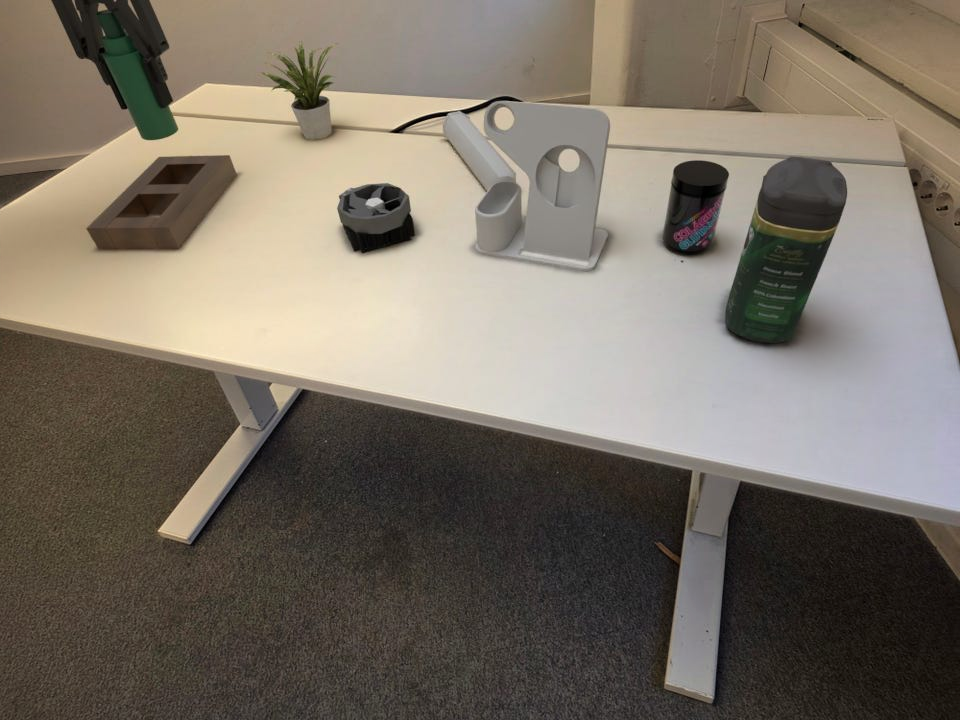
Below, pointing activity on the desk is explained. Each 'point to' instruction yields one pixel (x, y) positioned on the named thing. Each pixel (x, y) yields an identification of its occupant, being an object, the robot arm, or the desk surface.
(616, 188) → the desk surface
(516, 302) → the desk surface
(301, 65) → the house plant
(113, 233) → the bottle holder
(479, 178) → the tube
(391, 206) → the cpu cooler
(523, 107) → the phone holder
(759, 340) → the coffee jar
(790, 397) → the desk surface
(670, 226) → the supplement container
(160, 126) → the bottle
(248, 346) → the desk surface
